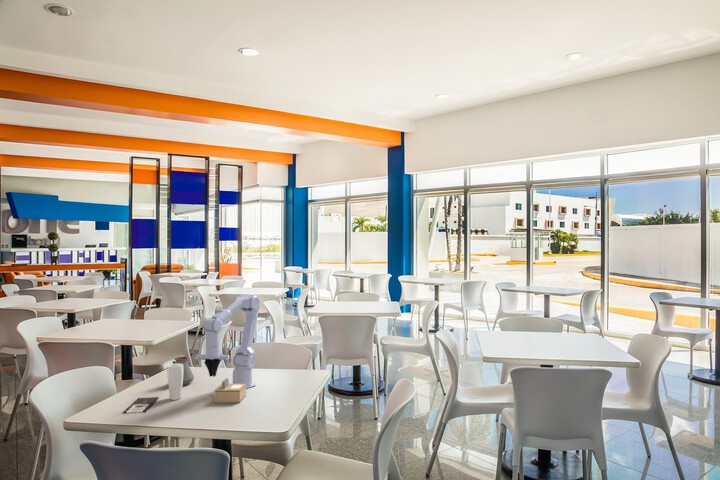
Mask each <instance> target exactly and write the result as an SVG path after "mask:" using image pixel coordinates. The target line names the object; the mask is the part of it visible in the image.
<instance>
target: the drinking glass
mask: <svg viewBox="0 0 720 480" xmlns="http://www.w3.org/2000/svg"><path fill="white" fill-rule="evenodd" d="M166 374H167V383H168V394H169V395H168V397H169V400H170V401H177V400H180V399H181V398H183V387H184V386H183V374H184V368H183V364H181V363H175V364H173V363H171V364H170V363H169V364H167V373H166Z"/></svg>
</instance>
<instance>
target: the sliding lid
mask: <svg viewBox="0 0 720 480" xmlns="http://www.w3.org/2000/svg"><path fill="white" fill-rule="evenodd" d="M229 382H230V381H229V378H228V377H227V378H225V379H223V380H222V381H221V384H219V385H218V386H217V387H216V388H215V389H214V390H213V391H214V392H215V391H241V390H242V389H243V388H244V387H245V386H246V384H233V383H229Z"/></svg>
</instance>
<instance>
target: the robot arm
mask: <svg viewBox="0 0 720 480" xmlns="http://www.w3.org/2000/svg"><path fill="white" fill-rule="evenodd" d="M260 304H261V301H260V298H259V297H258V296H257V295H248V294H247V295H246V294H239V295H238V296H237V297H235V301H233V302H232V303H231V304H230V305H229V306H228V307H227V308H226V309H225V308H222V309H219V311H218V312H217V313H216V314H214V315H212V317H211V318H207V319H205V320H204V321H203V325H202V329H203V331H204V335H205V354H197V355H195V361H200V360H201V361H204V365H205V367H206V368H207V370H208V371H207V372H208V375H209V377H211V378H212V377H216V376H217V372H218V368H219V365H220V363H221V361H222V360H224V361H229V360H230V354H222V353H220V332H221V330H222V328H223V326H224V325H225V324H226V323H228V321H230V319H231V318H232V315H233V314H234V313H236V312H237V311H238V310H241V311H243V312H244V313H245V314H246V315H245V316H246V317H245V321H244V325H243V326H244V328H243V332H242V337H241V343H240V347H239V348H238V349H236V350H235V353H234V356H233V359H232V364H233V365H234V367H235V368H234V369H233V370H232V384H246V389H249V388H252V387H255V386H257V384H255V383H253V368H254V366H255V364H256V352H255V350H254V349H253V343H254V338H255V332H256V326H257V321H258V316H259V310H260Z"/></svg>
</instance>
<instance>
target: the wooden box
mask: <svg viewBox="0 0 720 480" xmlns="http://www.w3.org/2000/svg"><path fill="white" fill-rule="evenodd" d="M246 397H247V388H246V386H245V387H244V388H243V389H242V390H241V391H214V403H216V404H222V403H223V404H225V403H227V404H240V403H241V402H242V401H243V400H244V399H245V398H246Z"/></svg>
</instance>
